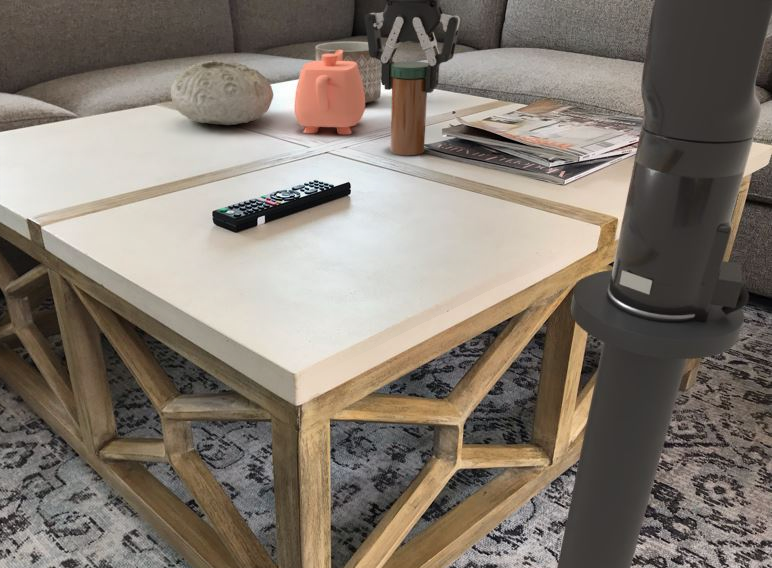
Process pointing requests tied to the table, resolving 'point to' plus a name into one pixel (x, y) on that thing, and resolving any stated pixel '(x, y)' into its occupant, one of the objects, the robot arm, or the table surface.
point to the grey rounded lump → (221, 93)
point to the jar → (408, 116)
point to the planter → (365, 63)
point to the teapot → (329, 94)
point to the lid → (409, 69)
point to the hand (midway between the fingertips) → (409, 89)
